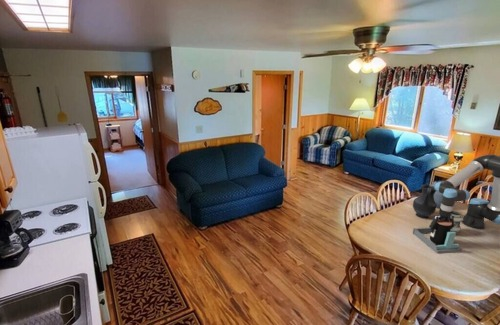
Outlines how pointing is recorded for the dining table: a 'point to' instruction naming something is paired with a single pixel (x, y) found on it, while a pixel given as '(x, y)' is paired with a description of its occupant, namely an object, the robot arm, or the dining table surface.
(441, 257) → the dining table surface
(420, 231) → the grey piece
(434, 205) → the pitcher
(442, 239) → the coffee jar
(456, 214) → the apothecary jar
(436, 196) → the vase
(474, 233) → the dining table surface
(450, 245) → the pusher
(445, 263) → the dining table surface
